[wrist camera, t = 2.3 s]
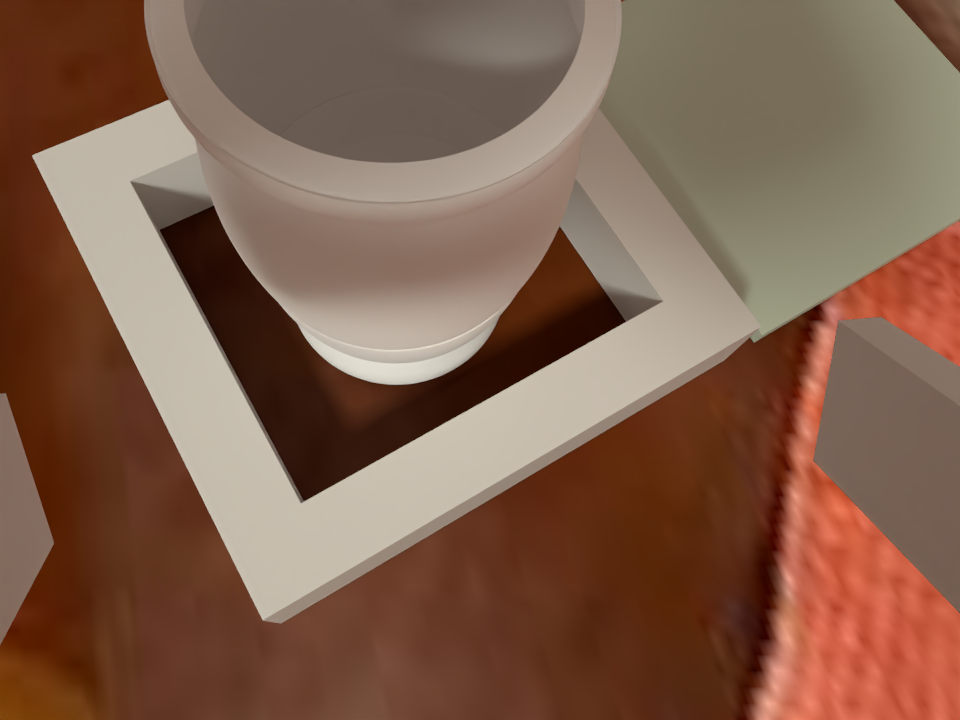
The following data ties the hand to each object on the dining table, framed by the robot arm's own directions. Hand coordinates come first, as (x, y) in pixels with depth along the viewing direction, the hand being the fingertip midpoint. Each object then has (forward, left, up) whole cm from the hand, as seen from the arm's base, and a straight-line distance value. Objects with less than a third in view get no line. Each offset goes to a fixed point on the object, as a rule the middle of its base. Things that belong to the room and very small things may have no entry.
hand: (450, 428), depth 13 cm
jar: (-9, +4, -16) cm, 19 cm away
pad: (-8, +23, -16) cm, 29 cm away
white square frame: (-9, +4, -16) cm, 19 cm away
